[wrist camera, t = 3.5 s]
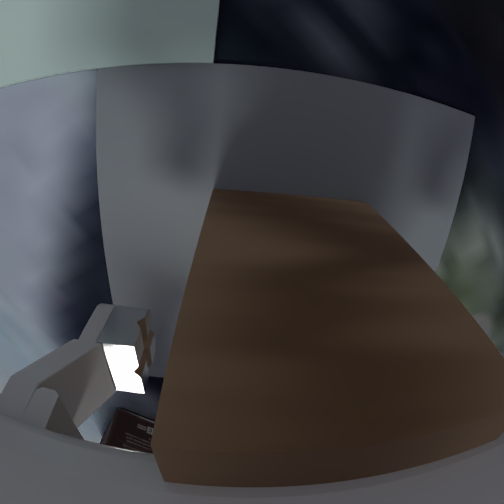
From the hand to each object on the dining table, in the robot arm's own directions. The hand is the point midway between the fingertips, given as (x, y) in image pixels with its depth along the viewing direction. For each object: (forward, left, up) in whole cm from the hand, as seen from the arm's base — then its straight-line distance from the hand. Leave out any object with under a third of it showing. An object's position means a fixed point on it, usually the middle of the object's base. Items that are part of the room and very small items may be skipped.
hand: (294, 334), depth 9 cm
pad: (+8, -12, -4) cm, 15 cm away
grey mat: (0, 0, -4) cm, 4 cm away
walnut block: (0, 0, -4) cm, 4 cm away
